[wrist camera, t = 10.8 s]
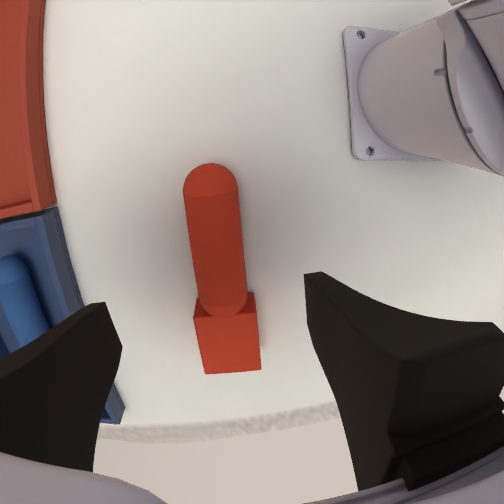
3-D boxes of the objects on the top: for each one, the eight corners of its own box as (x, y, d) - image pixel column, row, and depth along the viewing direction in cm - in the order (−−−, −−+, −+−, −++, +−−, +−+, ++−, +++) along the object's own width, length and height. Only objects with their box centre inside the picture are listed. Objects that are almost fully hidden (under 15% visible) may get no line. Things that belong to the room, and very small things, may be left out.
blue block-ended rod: (-1, 251, 18) (-23, 266, 15) (34, 246, 18) (11, 262, 15) (55, 388, 22) (44, 410, 20) (89, 390, 22) (79, 414, 20)
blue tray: (57, 206, 17) (41, 215, 16) (125, 407, 24) (120, 424, 22) (-37, 228, 17) (-53, 236, 15) (34, 398, 23) (27, 412, 22)
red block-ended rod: (177, 165, 17) (167, 171, 15) (242, 158, 17) (243, 162, 15) (206, 352, 22) (204, 378, 19) (258, 347, 22) (262, 374, 19)
